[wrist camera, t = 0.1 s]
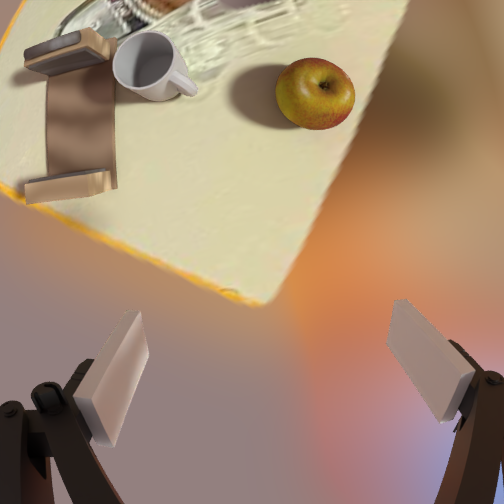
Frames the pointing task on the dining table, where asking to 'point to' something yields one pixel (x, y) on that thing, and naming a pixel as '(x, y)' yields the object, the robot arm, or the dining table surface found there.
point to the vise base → (79, 134)
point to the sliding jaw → (67, 52)
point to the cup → (152, 67)
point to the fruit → (315, 93)
